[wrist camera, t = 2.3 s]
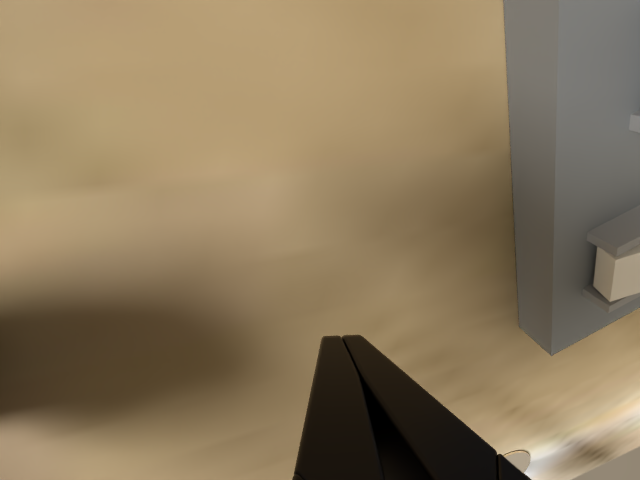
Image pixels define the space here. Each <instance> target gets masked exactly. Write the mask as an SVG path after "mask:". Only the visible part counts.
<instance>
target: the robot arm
mask: <svg viewBox="0 0 640 480" xmlns="http://www.w3.org/2000/svg"><path fill="white" fill-rule="evenodd" d="M292 480H531V479H530V478H529V477H528V476H526V475H525V474H524V473H523V472H522V471H520V470H519V469H518V468H517V467H516V466H514V465H513V464H512V463H511V462H510V461H509V460H507V459H506V458H505V457H504V456H503V455H501V454H498V455H497V452H496V450H495V449H494V448H492V447H491V446H490V445H489V444H488V443H486V442H485V441H484V440H483V439H482V438H481V437H479V436H478V435H477V434H476V433H475V432H474V431H472V430H471V429H470V428H469V427H468V426H467V425H465V424H464V423H463V422H462V421H461V420H460V419H458V418H457V417H456V416H455V415H454V414H453V413H451V412H450V411H449V410H448V409H447V408H446V407H444V406H443V405H442V404H441V403H440V402H438V401H437V400H436V399H435V398H434V397H433V396H431V395H430V394H429V393H428V392H427V391H426V390H424V389H423V388H422V387H421V386H420V385H419V384H417V383H416V382H415V381H414V380H413V379H412V378H410V377H409V376H408V375H407V374H406V373H405V372H403V371H402V370H401V369H400V368H399V367H398V366H396V365H395V364H394V363H393V362H392V361H391V360H389V359H388V358H387V357H386V356H385V355H383V354H382V353H381V352H380V351H379V350H378V349H376V348H375V347H374V346H373V345H372V344H371V343H369V342H368V341H367V340H366V339H365V338H364V337H362V336H361V335H344V336H343V337H342V338H341V337H340V336H324V337H323V338H322V340H321V344H320V349H319V354H318V359H317V364H316V369H315V374H314V378H313V383H312V388H311V393H310V398H309V403H308V408H307V413H306V417H305V422H304V427H303V432H302V437H301V442H300V447H299V452H298V456H297V461H296V466H295V471H294V476H293V479H292Z"/></svg>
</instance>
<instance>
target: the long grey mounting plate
mask: <svg viewBox="0 0 640 480" xmlns="http://www.w3.org/2000/svg"><path fill="white" fill-rule="evenodd" d="M504 20H505V41H506V62H507V83H508V104H509V125H510V146H511V167H512V188H513V209H514V230H515V251H516V272H517V293H518V314H519V327H520V328H521V329H522V330H523V331H524V332H525V333H526V334H528V335H529V336H530V337H531V338H532V339H533V340H534V341H535V342H536V343H537V344H539V345H540V346H541V347H542V348H543V349H544V350H545V351H546V352H547V353H549V354H550V355H551V356H552V355H554V354H556V353H557V352H559V351H561V350H563V349H565V348H567V347H568V346H570V345H572V344H574V343H576V342H577V341H579V340H581V339H583V338H585V337H587V336H588V335H590V334H592V333H594V332H596V331H598V330H599V329H601V328H603V327H605V326H607V325H609V324H610V323H612V322H614V321H616V320H618V319H620V318H621V317H623V316H625V315H627V314H629V313H631V312H632V311H634V310H636V309H638V308H640V293H637V294H633V295H630V296H627V297H624V298H621V299H617V300H614V301H611V302H610V301H608V300H607V299H606V298H605V297H604V296H603V295H602V294H601V293H600V292H599V291H598V290H597V289H596V288H595V287H594V286H593V284H594V274H595V264H596V254H597V247H599V248H601V249H603V250H605V251H606V252H608V253H610V254H612V255H614V256H615V257H617V256H619V255H621V254H623V253H625V252H626V251H628V250H630V249H632V248H634V247H636V246H638V245H640V0H504Z"/></svg>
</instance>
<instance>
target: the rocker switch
mask: <svg viewBox="0 0 640 480" xmlns="http://www.w3.org/2000/svg"><path fill="white" fill-rule="evenodd" d="M593 286H594V287H595V288H596V289H597V290H598V291H599V292H600V293H601V294H602V295H603V296H604V297H605V298H606V299H607V300H608V301H610V302H611V301H614V300H617V299H621V298H624V297H627V296H630V295H633V294H637V293H640V245H638V246H636V247H634V248H632V249H630V250H628V251H626V252H625V253H623V254H621V255H619V256H617V257H615V256H614V255H612V254H610V253H608V252H606V251H605V250H603V249H601V248H599V247H597V254H596V264H595V274H594V284H593Z"/></svg>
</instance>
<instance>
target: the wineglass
mask: <svg viewBox="0 0 640 480" xmlns="http://www.w3.org/2000/svg"><path fill="white" fill-rule="evenodd" d="M504 457H505V458H506V459H507V460H509V461H510V462H511V463H512V464H513V465H514V466H516V467H517V468H518V469H519V470H520V471H522V472H523V473H524V471H525V470H526V469H527V467H528V465H529V463H530V456H529V454H528V453H527V452H525V451H515V452H511V453H508V454H506V455H504Z"/></svg>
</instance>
